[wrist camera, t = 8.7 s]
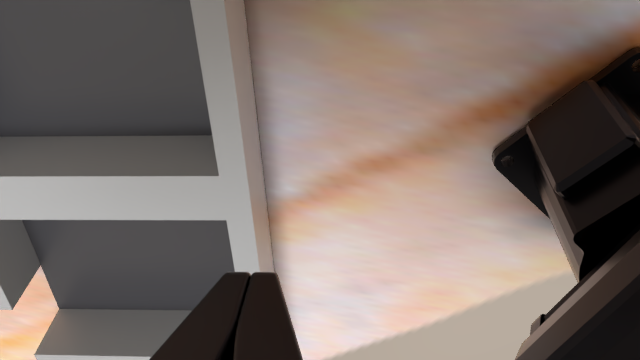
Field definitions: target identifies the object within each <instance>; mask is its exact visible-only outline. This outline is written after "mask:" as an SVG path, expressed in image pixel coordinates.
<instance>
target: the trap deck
mask: <svg viewBox="0 0 640 360" xmlns="http://www.w3.org/2000/svg"><path fill="white" fill-rule="evenodd" d="M40 265H41V267H42V269H43V271H44V274H45V276H46V278H47V281H48V283H49V286H50V288H51V290H52V293H53V295H54V297H55V300H56V302H57V304H58V307H59V310H58V312H57V314H56V316H55V318H54V320H53V321H52V323H51V325H50V327H49V329H48V331H47V332H46V334H45V336H44V338H43V340H42V342H41V343H40V345H39V347H38V349H37V351H36V353H35V354H34V355H35V357H36V359H37V360H149V359H150V358H151V357H152V356H153V355H154V353H155V352H156V351H157V350H158V349H159V348H160V347H161V345H162V344H163V343H164V342H165V341H166V340H167V339H168V337H169V336H170V335H171V334H172V333H173V332H174V331H175V329H176V328H177V327H178V326H179V325H180V324H181V323H182V321H183V320H184V319H185V318H186V317H187V316H188V315H189V313H190V312H191V311H192V310H193V309H194V308H195V307H196V305H197V304H198V303H199V302H200V301H201V300H202V299H203V297H204V296H205V295H206V294H207V293H208V292H209V291H210V289H211V288H212V287H213V286H214V285H215V284H216V283H217V281H218V280H219V279H220V278H221V277H222V276H223V275H224V274H225V273H227V272H249V273H250V274H251V275H252V274H253V273H254V272H274V264H273V255H272V246H271V237H270V228H269V219H268V210H267V201H266V193H265V184H264V175H263V166H262V157H261V148H260V139H259V130H258V121H257V112H256V104H255V95H254V86H253V77H252V68H251V59H250V50H249V41H248V32H247V23H246V14H245V6H244V0H0V310H12V309H13V308H14V306H15V305H16V303H17V302H18V300H19V298H20V297H21V295H22V294H23V292H24V290H25V289H26V287H27V286H28V284H29V283H30V281H31V279H32V278H33V276H34V275H35V273H36V271H37V270H38V268H39V267H40Z"/></svg>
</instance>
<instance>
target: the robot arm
mask: <svg viewBox="0 0 640 360" xmlns="http://www.w3.org/2000/svg"><path fill="white" fill-rule="evenodd" d="M639 59H640V48H634V49H631V50H630V51H628V52H626V53H625V54H624V55H622V56H621V57H619V58H618V59H617V60H615V61H614V62H613V63H611V64H610V65H609V66H607V67H606V68H605V69H603V70H602V71H601V72H599V73H598V74H596V75H595V76H594V77H592V78H591V79H590V80H588V81H584V82H582V83H581V84H579V85H578V86H577V87H575V88H574V89H573V90H571V91H570V92H569V93H567V94H566V95H565V96H563V97H562V98H561V99H559V100H558V101H556V102H555V103H554V104H552V105H551V106H550V107H548V108H547V109H546V110H544V111H543V112H542V113H540V114H539V115H538V116H536V117H535V118H534V119H532V120H531V121H530V122H528V125H527V126H526V127H525V128H524V129H522V130H521V131H519V132H518V133H517V134H515V135H514V136H513V137H511V138H510V139H509V140H507V141H506V142H505V143H503V144H502V145H501V146H499V147H498V148H497V149H496V150H495V151H494V152H493V155H492V160H493V163H494V166H495V167H496V169H497V170H498V171H499V172H500V173H501V174H503V175H504V176H505V177H506V178H507V179H508V180H509V181H510V182H511V183H512V184H513V185H514V186H515V187H516V188H517V189H519V190H520V191H521V192H522V193H523V194H524V195H525V196H526V197H527V198H528V199H529V200H530V201H531V202H532V203H533V204H535V205H536V206H537V207H538V208H539V209H540V210H541V211H542V212H543V213H544V214H545V215H546V216H547V217H548V218H549V219H551V222H552V224H553V226H554V229H555V231H556V233H557V236H558V238H559V240H560V243H561V245H562V247H563V250H564V252H565V254H566V257H567V259H568V261H569V264H570V266H571V268H572V271H573V273H574V275H575V278H576V280H577V282H578V284H577V285H576V286H575V287H574V288H573V289H572V290H571V291H570V292H569V293H568V294H566V296H564V297H563V298H562V299H561V300H560V301H559V302H558V303H557V304H556V305H555V306H554V307H553V308H552V309H551V310H550V311H549V312H548V313H547V314H546V315H545V314H542V315H540V316H539V318H537V319H536V320H535V321H534V322H533V323H532V325H531V332H530V336H529V337H528V338H527V339H526V340H525V341H524V342H523V343H522V345H521V347H520V349H519V352H518V354H517V356H516V358H515V360H640V66H638V67H636V68H632V65H633V63H634V62H635V61H637V60H639ZM505 156H511V158H510V159H509V160H507V161H501V159H502V158H503V157H505ZM149 360H303V359H302V355H301V352H300V348H299V345H298V342H297V338H296V335H295V332H294V328H293V325H292V322H291V318H290V315H289V312H288V308H287V305H286V302H285V298H284V295H283V291H282V288H281V285H280V281H279V278H278V275H277V274H276V273H275V272H254V273H253V274H252V275H251V274H250V273H249V272H227V273H225V274H224V275H223V276H222V277H221V278H220V279H219V280H218V281H217V283H216V284H215V285H214V286H213V287H212V288H211V289H210V291H209V292H208V293H207V294H206V295H205V296H204V297H203V299H202V300H201V301H200V302H199V303H198V304H197V305H196V307H195V308H194V309H193V310H192V311H191V312H190V313H189V315H188V316H187V317H186V318H185V319H184V320H183V321H182V323H181V324H180V325H179V326H178V327H177V328H176V329H175V331H174V332H173V333H172V334H171V335H170V336H169V337H168V339H167V340H166V341H165V342H164V343H163V344H162V345H161V347H160V348H159V349H158V350H157V351H156V352H155V353H154V355H153V356H152V357H151V358H150V359H149Z"/></svg>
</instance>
